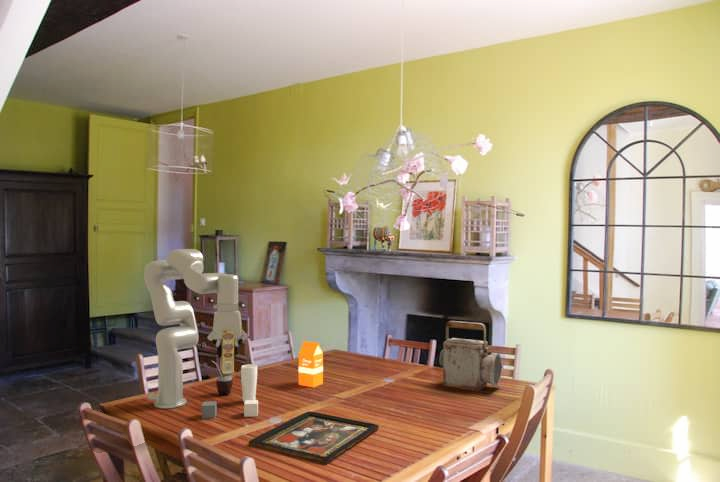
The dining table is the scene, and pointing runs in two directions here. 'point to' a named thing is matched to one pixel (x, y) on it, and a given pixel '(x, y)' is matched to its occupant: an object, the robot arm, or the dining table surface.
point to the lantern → (469, 360)
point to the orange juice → (310, 364)
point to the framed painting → (314, 436)
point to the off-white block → (250, 408)
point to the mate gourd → (223, 383)
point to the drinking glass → (249, 381)
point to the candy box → (227, 352)
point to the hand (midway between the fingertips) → (227, 356)
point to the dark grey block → (209, 409)
